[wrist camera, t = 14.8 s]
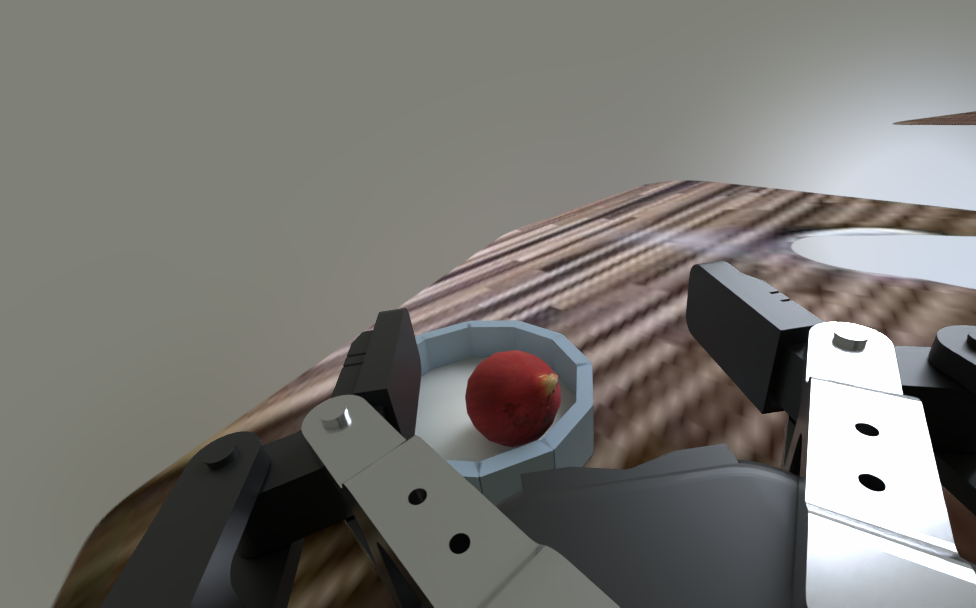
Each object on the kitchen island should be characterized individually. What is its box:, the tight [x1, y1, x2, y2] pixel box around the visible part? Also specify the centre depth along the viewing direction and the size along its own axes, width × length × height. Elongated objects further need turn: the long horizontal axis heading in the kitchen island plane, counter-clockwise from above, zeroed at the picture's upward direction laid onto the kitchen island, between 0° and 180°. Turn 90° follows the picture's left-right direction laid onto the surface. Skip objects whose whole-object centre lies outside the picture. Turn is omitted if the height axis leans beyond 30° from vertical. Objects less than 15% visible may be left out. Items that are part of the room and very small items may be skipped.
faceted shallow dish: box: [415, 321, 594, 506], centre depth 31 cm, size 16×16×4 cm
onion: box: [465, 350, 561, 447], centre depth 27 cm, size 6×6×8 cm
